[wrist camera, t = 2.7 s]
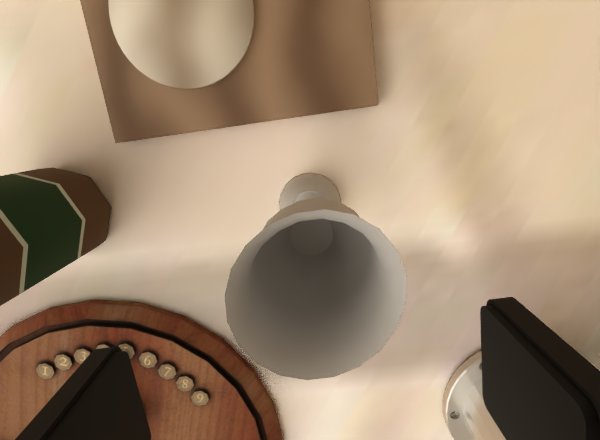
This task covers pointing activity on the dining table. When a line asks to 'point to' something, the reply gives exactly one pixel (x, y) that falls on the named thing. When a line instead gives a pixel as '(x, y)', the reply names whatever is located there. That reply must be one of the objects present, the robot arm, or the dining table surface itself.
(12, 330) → the wooden control board
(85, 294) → the dining table surface
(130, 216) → the dining table surface
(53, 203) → the beer bottle
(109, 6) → the walnut board
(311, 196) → the chalice
